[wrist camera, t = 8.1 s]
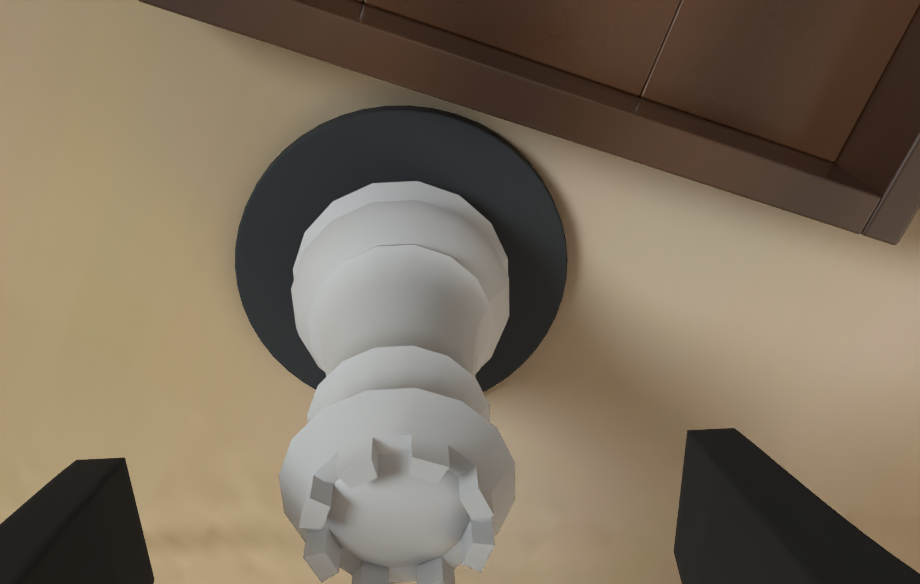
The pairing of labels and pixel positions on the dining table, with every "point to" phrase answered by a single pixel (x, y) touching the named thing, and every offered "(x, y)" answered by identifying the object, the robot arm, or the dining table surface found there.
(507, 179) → the coaster
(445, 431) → the rook chess piece
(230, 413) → the dining table surface
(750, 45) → the tray
